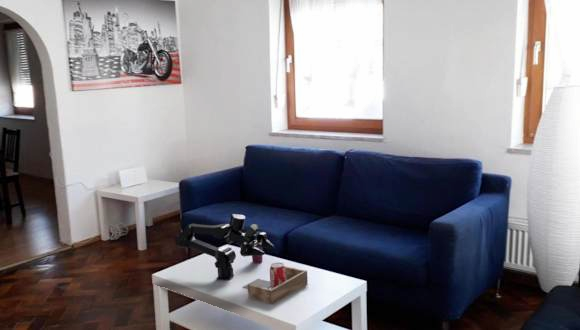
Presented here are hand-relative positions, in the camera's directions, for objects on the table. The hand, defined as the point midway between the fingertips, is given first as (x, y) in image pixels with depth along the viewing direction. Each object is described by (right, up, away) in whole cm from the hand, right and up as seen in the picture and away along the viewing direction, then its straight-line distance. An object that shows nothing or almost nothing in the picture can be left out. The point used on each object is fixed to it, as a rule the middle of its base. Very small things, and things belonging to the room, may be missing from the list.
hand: (269, 250), depth 248 cm
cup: (-7, -11, +34) cm, 36 cm away
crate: (+4, -17, -5) cm, 18 cm away
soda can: (+4, -17, -5) cm, 18 cm away
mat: (-5, -16, +2) cm, 17 cm away
